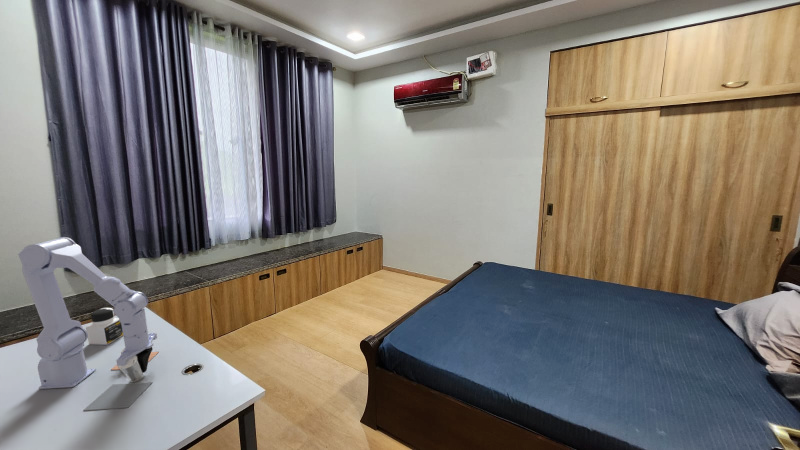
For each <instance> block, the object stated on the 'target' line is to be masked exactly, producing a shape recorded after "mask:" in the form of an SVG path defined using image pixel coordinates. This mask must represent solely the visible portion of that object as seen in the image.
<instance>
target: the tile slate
mask: <svg viewBox="0 0 800 450" xmlns="http://www.w3.org/2000/svg"><path fill="white" fill-rule="evenodd" d="M152 384H153V382H152V381H150V382H148V381H146V382H132V383H129V382H128V383H117V384H111V386H109V387H108V388H107V389H106V390H104V392H103V393H100V395H99V396H97V398H95V399H94V400H93V401H92V402H91V403H90V404H88V406H86V407H85V408H84V409H83V412H87V411H99V410H113V409H114V410H115V409H128V408H129V407H130V406H131V405H132V404H133V403H134V402H135V401H137V399H138V398H139V397H140V396H141V395H142V394H143V393H144V392H145V391H146V390H147V389H148V388H149V387H150V386H151V385H152Z"/></svg>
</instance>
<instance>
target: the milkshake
mask: <svg viewBox="0 0 800 450" xmlns="http://www.w3.org/2000/svg"><path fill="white" fill-rule="evenodd" d="M118 368H119V369H120V370H119V371H121V372H122V373H123V374H124V375H125V377H126V378H128V380H129V381H130V382H132V383H137V382H139V381H140V380H141V379H142V378H143V377H144V373H143V371H142V369H141V367H140V364H139V361H138V358H137V356H136V355H134V356H132V357H131V358H129V359H127V364H126V365H122V366H118Z"/></svg>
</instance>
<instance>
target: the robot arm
mask: <svg viewBox="0 0 800 450" xmlns="http://www.w3.org/2000/svg"><path fill="white" fill-rule="evenodd" d="M17 255H18V258H19V260H20V262H21V265H22V267H21V271H22V274H23V277H24V280H25V282H26V285H27V287H28V291H29V293H30V295H31V296H30V297H31V298H32V300H33V303H34V305H35V309H36V310H37V313H38V316H39V318H40V322H41V325H42V327H43V329H42V330H41V332H40V333H39V335H38V336H37V338H36V342H37V347H36V351H37V355H38V356H39V357H40V360H39V361H38V364H37V372H38V376H39V380H40V386H39V387H38V389H39V390H43V389H46V390H47V389H57V388H58V389H60V388H74V387H76V386H78V384H80V383H81V382H83V380H85V379H86V378H88V377H89V376H90V375H91V374H92V373H94V372H95V371H96V370H97V369H96V368H87V367H88V366H87V362H86V358H85V352H84V347H85V342H87V341H88V333H87V331H86V328H85V327H83V326H82V323H81V321H79V320H75V319H71V317H70V314H69V310H68V308H67V306H66V303H65V300H64V297H63V294H62V291H61V288H60V287H59V283H58V281H57V278H56V275H55V273H54V271H55V270H56V269H57V268H58V269H59V268H65V269H69V270H71V271H72V272H74V273H75V274H77V275H78V276H80V277H82V278H83V279H84V280H86V281H87V282H89V283H90V284H92V285H93V292H94V293H96V294H97V295H98V296H100V297H101V299H103V300H104V301H106V302H108V303H109V304H110V305H111V306H113V307H114V308H112V309H113V312H114V316H116V318H119V322H121V325H122V331H123V336H122V337H123V341H124V348H125V349H124V348H123V350H124V351H123V350H122V351H123V352H122V351H121V352H122V354H121V353H120V356H119V357H118V358H117V359H116V360H115V361H116V365H117V366H122V365H126V364H127V359H129V358H131V357H132V356H134V355H136V356H137V358H138V361H139V364H140V367H141V369H142V371H143V374H144V373H146V372H147V369H148V364H149V362H148V360H149V356H150V354H151V352H153V346H154V343H153V341H154V340H157V339H158V335H157V332H149V330H148V323H147V318H146V311H145V308H146V307H147V305H148V304H149V299H148V297H147V295H145V293H144V292H141V291H137V290H136V291H135V289H134V290H133V289H130V287H128V286H127V285H126V284H124V283H123V282H122V280H121V279H120V278H117V277H116V276H106V274H105V273H104V272H102V270H101V269H99V268H98V267H97V266H96V265H95V264H94V263H93V262H92V261H90V259H89V258H87V256H85V255H84V254H83V252H82V247H81V246H80V245H79V244H77V243H76V242H75V241H74V240H73V238H70V237H67V236H61V237H58V238H55V239H50V240H46V241H43V242H39V243H32V244H28V245H26V246H24V248H23V249H22V250H21V251H20V252H19V253H18V254H17Z"/></svg>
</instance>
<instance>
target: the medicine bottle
mask: <svg viewBox="0 0 800 450" xmlns="http://www.w3.org/2000/svg"><path fill="white" fill-rule="evenodd" d="M113 309H114V308H111V307H102V308H99V309H95V310H94V311H92V312H91V313H90V318H91V322H92V323H90V324H89V325H86V326H85V330H86V331H87V333H88V338H87V342H88V345H110V344H111V343H113V342H115V341H116V340H117V339H119V338H122V337H123V331H122V325H121V322H119V318H118V317H115V314H114V312H113Z"/></svg>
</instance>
